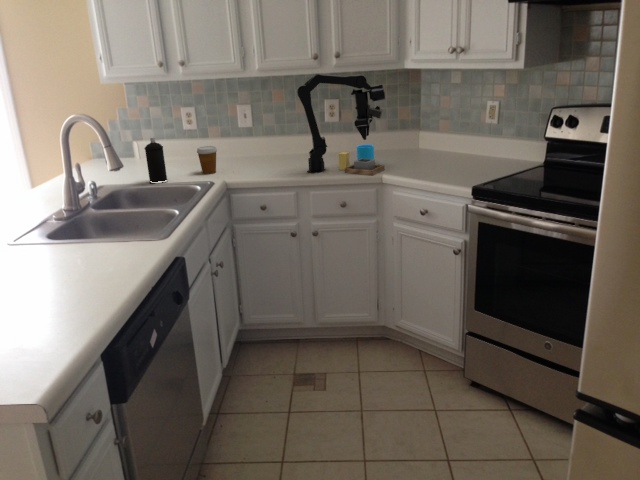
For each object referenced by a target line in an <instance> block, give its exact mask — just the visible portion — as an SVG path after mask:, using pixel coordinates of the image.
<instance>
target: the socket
mask: <svg viewBox="0 0 640 480" xmlns="http://www.w3.org/2000/svg"><path fill="white" fill-rule="evenodd" d="M353 165H354V169H361V170H373V169H375V165H376V159H375V158H374V159H359V160H354V161H353Z"/></svg>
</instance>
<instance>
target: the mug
mask: <svg viewBox="0 0 640 480" xmlns="http://www.w3.org/2000/svg"><path fill="white" fill-rule="evenodd" d="M356 159H357V160H359V159H375V145H373V144H359V145H357V146H356Z"/></svg>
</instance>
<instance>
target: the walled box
mask: <svg viewBox="0 0 640 480" xmlns="http://www.w3.org/2000/svg"><path fill="white" fill-rule="evenodd" d="M383 171H385V165H384V164H375V169H373V170H361V169H354V164H352V165H350V166H349V167H347V168H345V170H344V174H348V175H349V174H350V175H360V176H361V175H362V176H370V177H371V176H372V177H373V176H375V175H377V174H379V173H381V172H383Z"/></svg>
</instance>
